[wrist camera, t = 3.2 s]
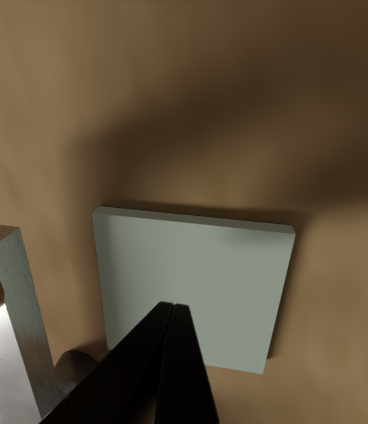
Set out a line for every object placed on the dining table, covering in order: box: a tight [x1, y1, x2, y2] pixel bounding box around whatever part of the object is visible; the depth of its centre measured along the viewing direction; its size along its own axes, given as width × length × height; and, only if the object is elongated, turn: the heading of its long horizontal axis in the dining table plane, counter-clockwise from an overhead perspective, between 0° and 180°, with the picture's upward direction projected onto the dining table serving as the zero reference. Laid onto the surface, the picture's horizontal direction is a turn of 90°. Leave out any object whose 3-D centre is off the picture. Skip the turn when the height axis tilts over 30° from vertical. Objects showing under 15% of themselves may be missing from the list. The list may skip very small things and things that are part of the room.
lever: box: [0, 225, 97, 424], centre depth 12 cm, size 3×15×6 cm, turn 178°
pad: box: [92, 206, 296, 374], centre depth 12 cm, size 7×7×1 cm
